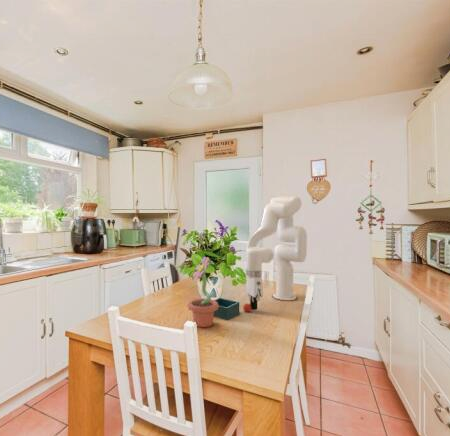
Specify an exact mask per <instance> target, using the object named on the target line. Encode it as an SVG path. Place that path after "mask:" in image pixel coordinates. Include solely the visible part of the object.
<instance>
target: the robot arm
mask: <svg viewBox="0 0 450 436" xmlns="http://www.w3.org/2000/svg"><path fill="white" fill-rule="evenodd" d="M301 207H302V199H301V198H300V197H299V196H297V195H287V196H285V195H282V196H275V197H272V198H271V199H270V203H268V204H266V205H265V207H264V211H263V215H262V220H261V223H260V227H259V228H258V229H257V230H256V231H254V233H253V234H252V235H251V237H249V240H248V241H247V245H246V251H245V257H246V259H245V260H246V265H245V267H246V269H245V271H246V273H245V274H246V275H245V276H246V279H245V292H246V294H247V295H248V298H249V304H250V305H251V310H250V311H257V310H258V302H259V301H261V298H263V297H264V281H263V277H262V275H263V274H262V273H263V272H262V271H263V267H262V266H263V265H262V263H266V264H267V263H271V262H272V261H273V260H274V258H275V263H276V264H275V274H276V275H275V278H276V279H275V293H273V296H272V297H273V298H274V299H276V300H280V301H295V300H297V296H296V295H295V294H294V291H295V289H294V267H293V264H292V263H291V262H294V263H304V262H305V260H306V258H307V249H308V248H307V243H308V242H307V241H308V235H307V234H308V233H307V231H306V228H304V227H303V226H298V225H297V226H295V225H294V217H293V216H295V214H296V213H297V212H299V211H300V209H301ZM276 232H277V239H278V241H279V242H283V243H284V244H283V243H281V244H277V245H276V246H275V248H274V250H272V249H271V248H270V247H261V246H257V245H258V244H259V243H260V241H261V240H263V239H265V238H267V237H269V236H272V235H274V234H276ZM286 243H291V244H286ZM292 243H293V244H292ZM246 280H247V282H246Z"/></svg>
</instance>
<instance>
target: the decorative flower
mask: <svg viewBox="0 0 450 436" xmlns="http://www.w3.org/2000/svg"><path fill="white" fill-rule="evenodd" d="M200 262H201V264H197V266H195V269H194V271H195V272H194V273H193V275H192V277H193V278H194V280H198V279H200V278H201V280H202V283H201V292H202V294H203V295H204V296H205V297H206V298H195V299H192V300H190V301H189V302H188V303H187V309H188V310H189V311H190V312H192V322H193V321H194V322H196V324H197V326H196V327H199V328H209V327H211V326H213V324H214V319H215V318H214V317H215V316H214V311H216V310H217V309H218V307H219V305H218V303H217V302H216V301H214V300H215V299H211V298H212V297H215V296H216V294H212V295H211V294H210V293H209V292H208V291H207V275H206V272H207V271H206V269H207V268H208V267H210V265H211V261H210V258H209V256H207V257H206V256H203V257H202V258H201V261H200ZM194 322H193V323H194Z"/></svg>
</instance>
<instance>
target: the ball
mask: <svg viewBox="0 0 450 436" xmlns="http://www.w3.org/2000/svg"><path fill="white" fill-rule="evenodd" d="M242 309H243V311H244V312H247V313H249V312H251V311H252V310H251V305H250V303H244V304H243V308H242Z"/></svg>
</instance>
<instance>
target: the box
mask: <svg viewBox="0 0 450 436" xmlns="http://www.w3.org/2000/svg"><path fill="white" fill-rule="evenodd" d="M213 300H214V301H216V302H217V303H218V305H219V307H218V309H217V310H216V311H214V317H216V318H219V319H223V320H226V321H227V320H230V319H232V318H234V317H235V316H236V315H239V314H240V301H236V300H232V299H228V298H223V297H217V298H216V299H213Z"/></svg>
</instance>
